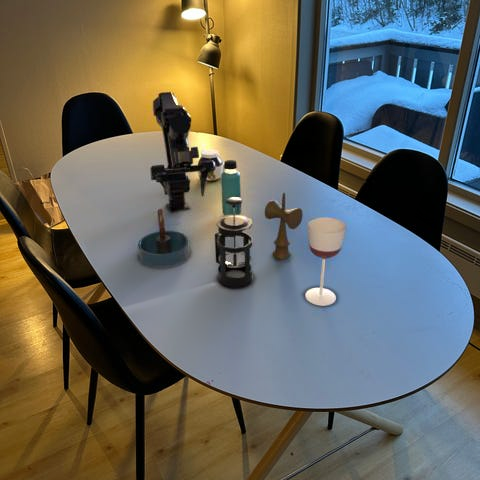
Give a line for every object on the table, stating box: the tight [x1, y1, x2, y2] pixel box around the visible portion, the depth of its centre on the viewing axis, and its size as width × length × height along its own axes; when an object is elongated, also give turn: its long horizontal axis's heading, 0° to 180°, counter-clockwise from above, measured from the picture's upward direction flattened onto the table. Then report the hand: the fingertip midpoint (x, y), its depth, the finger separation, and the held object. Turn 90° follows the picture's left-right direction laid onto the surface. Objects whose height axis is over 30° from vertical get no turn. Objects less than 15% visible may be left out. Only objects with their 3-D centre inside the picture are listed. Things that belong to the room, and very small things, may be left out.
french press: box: [214, 197, 254, 290], centre depth 114 cm, size 12×9×23 cm
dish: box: [137, 230, 190, 267], centre depth 129 cm, size 14×14×4 cm
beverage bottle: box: [220, 159, 242, 216], centre depth 147 cm, size 6×7×20 cm
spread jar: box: [197, 149, 228, 183], centre depth 183 cm, size 12×11×12 cm
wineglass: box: [305, 217, 347, 307], centre depth 107 cm, size 8×9×20 cm
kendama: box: [264, 192, 304, 261], centre depth 124 cm, size 6×10×20 cm, turn 46°
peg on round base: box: [156, 208, 171, 254], centre depth 127 cm, size 4×4×14 cm
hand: (187, 197), depth 130 cm, fingers open, 9 cm apart
